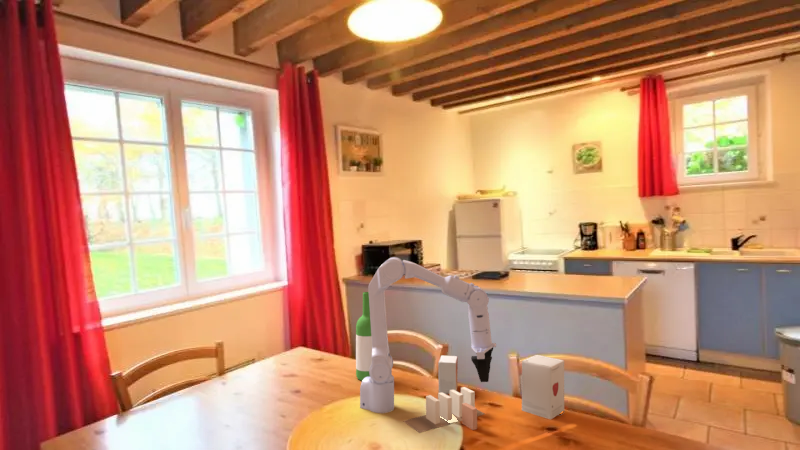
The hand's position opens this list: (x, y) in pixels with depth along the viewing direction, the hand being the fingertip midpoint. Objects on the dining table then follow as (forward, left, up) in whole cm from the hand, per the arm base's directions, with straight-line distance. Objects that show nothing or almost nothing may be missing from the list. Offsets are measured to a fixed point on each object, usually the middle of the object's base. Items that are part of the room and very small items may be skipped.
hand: (485, 376), depth 125 cm
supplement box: (+15, +7, -10) cm, 19 cm away
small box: (-15, +9, -10) cm, 21 cm away
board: (-8, -11, -10) cm, 17 cm away
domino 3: (-6, -7, -9) cm, 13 cm away
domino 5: (0, -12, -10) cm, 16 cm away
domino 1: (-10, -14, -9) cm, 20 cm away
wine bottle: (-45, +7, -10) cm, 47 cm away
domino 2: (-8, -11, -9) cm, 16 cm away
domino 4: (-4, -4, -9) cm, 11 cm away
